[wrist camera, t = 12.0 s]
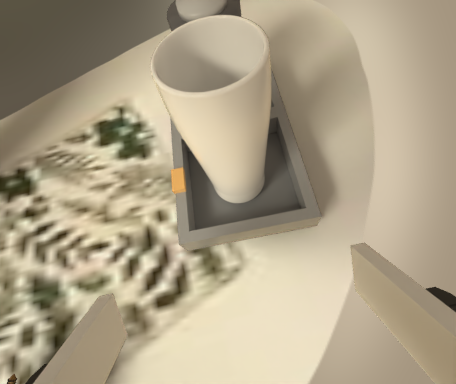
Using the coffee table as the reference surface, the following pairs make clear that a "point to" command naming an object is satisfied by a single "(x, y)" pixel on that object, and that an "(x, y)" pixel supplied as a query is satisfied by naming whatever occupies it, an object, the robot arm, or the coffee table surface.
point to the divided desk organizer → (274, 171)
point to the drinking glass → (219, 98)
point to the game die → (12, 379)
